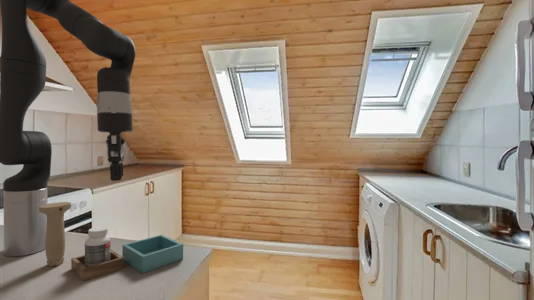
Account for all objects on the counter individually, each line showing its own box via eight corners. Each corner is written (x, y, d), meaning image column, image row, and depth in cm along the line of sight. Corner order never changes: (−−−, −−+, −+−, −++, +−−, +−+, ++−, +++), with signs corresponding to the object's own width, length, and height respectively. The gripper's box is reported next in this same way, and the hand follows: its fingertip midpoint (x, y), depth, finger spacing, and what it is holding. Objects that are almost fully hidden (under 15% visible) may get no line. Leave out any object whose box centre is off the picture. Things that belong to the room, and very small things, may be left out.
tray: (122, 259, 73) (122, 244, 73) (161, 248, 82) (161, 234, 81) (142, 273, 66) (142, 256, 66) (183, 259, 75) (183, 244, 74)
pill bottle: (111, 270, 67) (111, 230, 67) (84, 275, 64) (84, 233, 64) (109, 261, 72) (109, 224, 72) (84, 266, 69) (84, 227, 69)
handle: (35, 266, 68) (35, 206, 68) (64, 257, 74) (64, 201, 73) (45, 271, 66) (45, 208, 65) (74, 261, 72) (74, 203, 71)
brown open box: (71, 268, 68) (71, 258, 67) (109, 257, 74) (109, 248, 74) (83, 280, 62) (83, 269, 62) (123, 267, 69) (123, 257, 69)
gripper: (100, 115, 73) (102, 177, 73) (92, 108, 60) (95, 183, 60) (132, 116, 76) (134, 175, 76) (131, 109, 63) (134, 180, 64)
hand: (117, 178), depth 68 cm, fingers open, 8 cm apart
